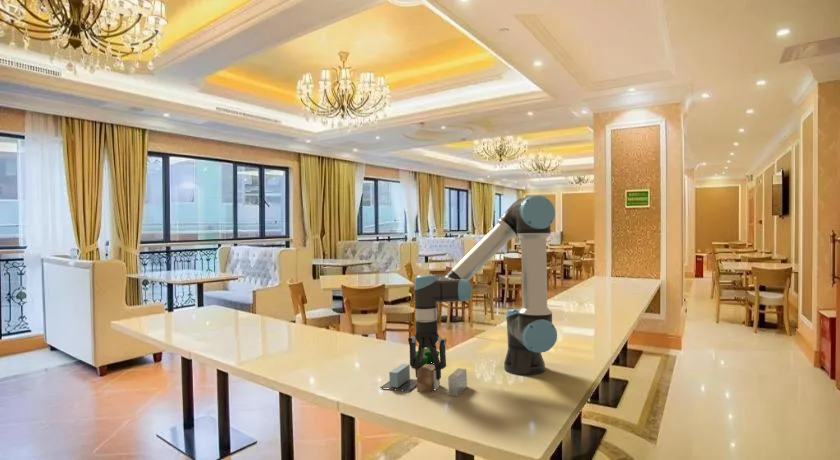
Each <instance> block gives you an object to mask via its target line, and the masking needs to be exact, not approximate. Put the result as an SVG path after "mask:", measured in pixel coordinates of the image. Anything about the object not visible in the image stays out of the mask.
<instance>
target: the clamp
mask: <svg viewBox="0 0 840 460" xmlns="http://www.w3.org/2000/svg"><path fill="white" fill-rule="evenodd" d="M437 353H438V357H440V351H439V350H437ZM417 354H418V350H416V358H417ZM431 362H432V363H434V362H433V358H432V354H431V351H430V350H429V348H427V347H425V348H424V352H423V357H422V362H421V366H420V367H422V366H424V365H425V364H431Z"/></svg>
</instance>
